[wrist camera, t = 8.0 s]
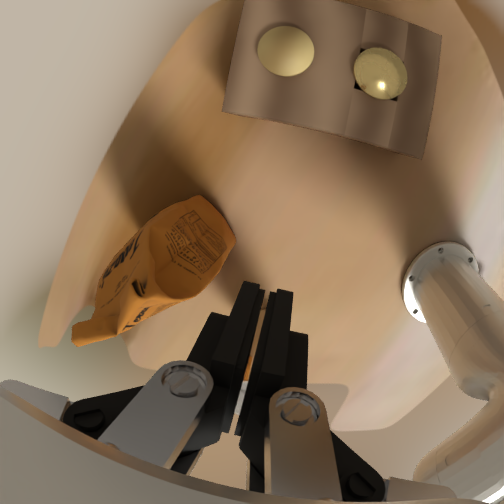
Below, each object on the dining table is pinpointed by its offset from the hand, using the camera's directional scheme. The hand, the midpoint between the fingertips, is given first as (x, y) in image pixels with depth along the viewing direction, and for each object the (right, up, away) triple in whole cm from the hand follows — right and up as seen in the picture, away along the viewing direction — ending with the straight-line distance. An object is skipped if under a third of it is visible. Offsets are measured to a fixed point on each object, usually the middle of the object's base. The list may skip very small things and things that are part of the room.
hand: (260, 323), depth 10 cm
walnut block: (+9, +23, +21) cm, 32 cm away
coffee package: (-9, +4, +32) cm, 33 cm away
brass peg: (+13, +21, +20) cm, 32 cm away
